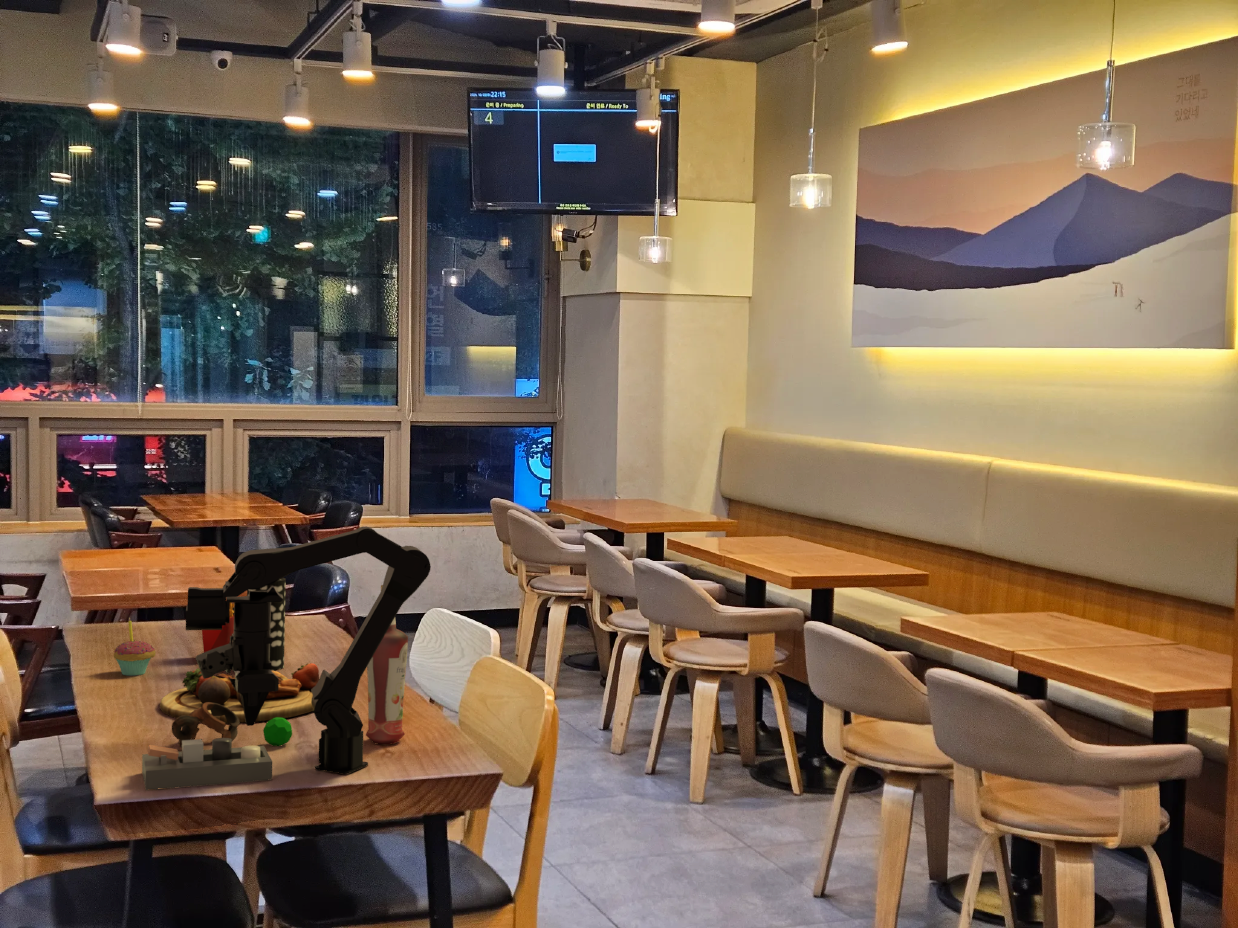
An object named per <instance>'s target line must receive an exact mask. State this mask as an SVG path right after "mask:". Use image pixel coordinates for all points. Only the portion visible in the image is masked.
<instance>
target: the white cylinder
mask: <svg viewBox="0 0 1238 928" xmlns="http://www.w3.org/2000/svg"><path fill="white" fill-rule="evenodd" d="M259 746H260V745H245V746H242V748H241V759H243V758H257V757H260V747H259Z"/></svg>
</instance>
